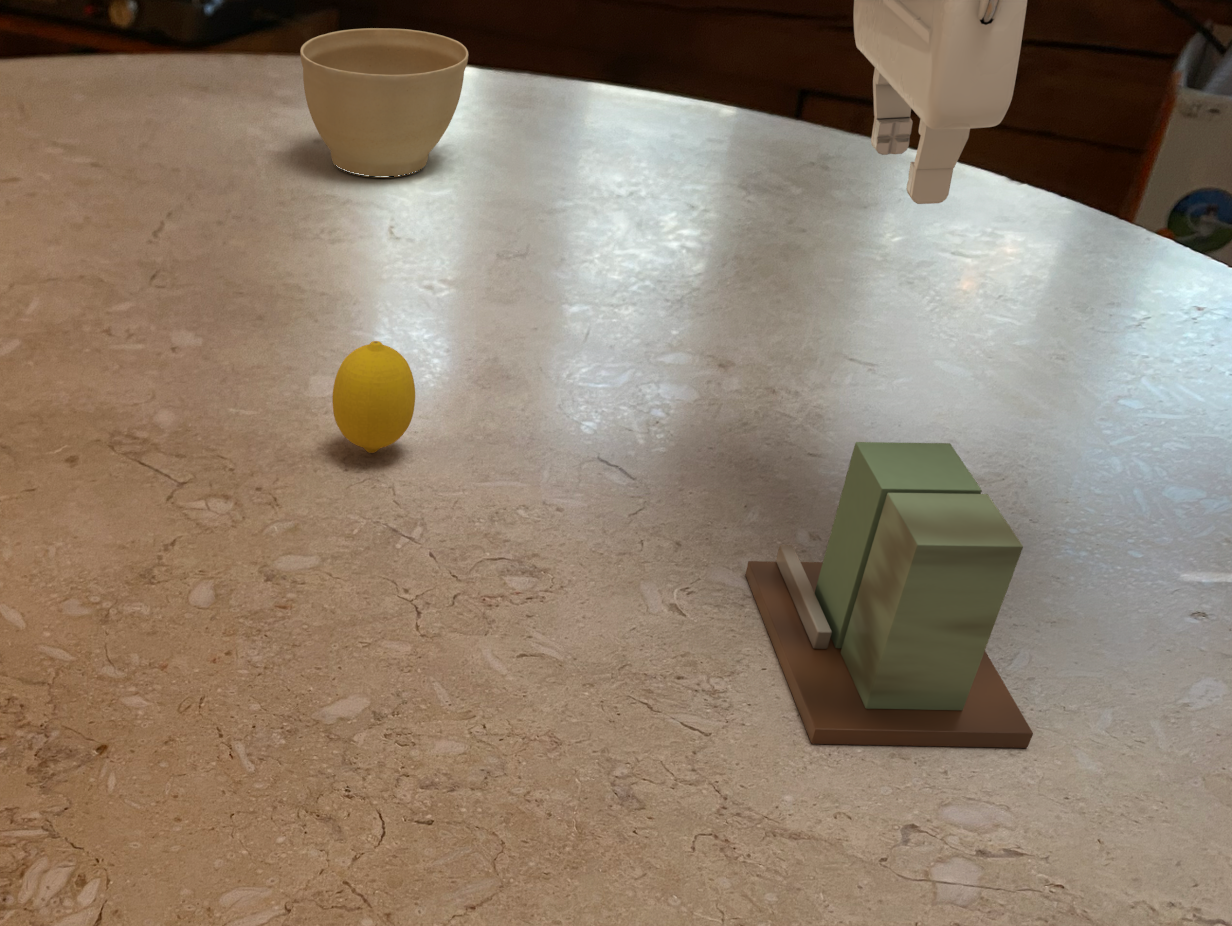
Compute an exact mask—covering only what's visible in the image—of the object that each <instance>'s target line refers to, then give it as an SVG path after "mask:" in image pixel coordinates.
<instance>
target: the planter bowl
mask: <svg viewBox="0 0 1232 926" xmlns="http://www.w3.org/2000/svg"><path fill="white" fill-rule="evenodd" d="M299 52H300V53H299V54H300V62H301V66H302V79H303V80H302V81H303V89H304V96H305V101H306V104H307V108H308V111H309V114H310V116H311V119H312V122H313V124H314V126H315V128H316V131H317V132H318V134H319V136H320V138H321V139H322V141H323V142H324V143H325V145H326V146H327V148H328V149H329V151H330V157H331V162H332V161H333V162H332V164H333V163H334V164H335V165H337V166H338V167H340V168H342V169H345V170H347V171H350V172H354V173H359V174H364V175H369V176H394V177H393V178H399V177H400V176H398V175H402V176H401V177H404V176H409V175H414V174H415V173H416V174H417V173H418V172H420V171H421V170H423V169H424V168H425V167H426V165H427V164H428V160H429V155H430V153H431V152H432V150H433V149H434V148H435V147H436V146H437V145H438V144H439V142H440V140H441V139H442V138H443V136H444V134H445V133H446V131H447V129H449V126H450V124H451V122H452V119H453V118H454V116H455V113H456V110H457V107H458V104H459V101H460V98H461V95H462V89H463V84H464V76H465V71H466V68H467V65H468V61H469V50H468V49H467V47H466V46H465V45H464V44H463V43H462V42H460V41H458V40H456V39H454V38H451V37H448V36H445V35H441V34H437V33H433V32H428V31H424V30H423V31H422V30H415V29H407V28H406V29H405V28H392V27H391V28H389V27H388V28H379V27H376V28H375V27H374V28H373V27H370V28H369V27H368V28H367V27H366V28H353V29H351V28H350V29H343V30H337V31H332V32H331V31H330V32H328V33H325V34H324V33H323V34H321V35H320V34H319V35H318V36H315V37H312V38H310V39H308V40H307V41H305V42H304V43H303V44H302V45H301V47H300V51H299ZM334 164H333V165H334ZM335 165H334V166H335ZM424 166H425V167H424ZM423 167H424V168H423ZM422 168H423V169H422ZM420 169H421V170H420ZM418 170H419V171H418ZM415 171H417V172H415ZM343 172H344V173H346V172H345V171H343ZM412 172H414V173H412ZM409 173H411V174H409ZM404 174H407V175H404ZM353 175H355V174H353ZM355 176H356V175H355ZM358 176H359V177H361V176H360V175H358ZM369 176H364V177H366V178H370V177H369ZM379 178H381V179H382V178H385V179H386V178H388V177H378V179H379Z"/></svg>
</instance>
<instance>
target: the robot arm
mask: <svg viewBox="0 0 1232 926" xmlns="http://www.w3.org/2000/svg"><path fill="white" fill-rule="evenodd" d="M1027 6H1028V0H853V19H852V20H853V34H854V35H853V36H854V40H855V41H854V42H855V46H856V48H857V50H858V51H860V53H861V54H862V55H863V56H864V57H865V58H866V59H867V60H868V62H869V63H870V64H871V65H872V66H873V67H874V70H873V78H872V94H873V95H872V96H873V116H874V118H873V125H872V131H871V139H870V143H871V146H872V148H874V149H875V151H876V152H877V153H878V154H879V155H881V156H887V155H902V154H904V153H905V152H906V151H907V150H908V148H909V146H910V141H911V140H910V137H911V134H912V129H913V124H914V121H913V120H912V118H911V114H912V113H911V112H912V111H913V112H914V113H915V115H917V117H918V118H919V125H918V134H919V135H920V137H919V141H918V145H917V150H916V154H915V159H914V161H910V164H909V170H908V180H907V183H906V188H905V189H906V192H907V194H908V196H909V197H910V198H911V200H912V202H914V203H915V204H917V205H930V204H933V205H935V204H941V203H943V202H944V201H946V200H947V199H948V196H949V195H950V189H951V183H952V178H953V174H954V168H956V165H957V164H958V161H959V159H960V156H961V155H962V152H963V150H964V148H965V146H966V144H967V142H968V140H969V138H970V131H971V129H983V128H992V127H996V126H998V125H1000V124H1001V123H1002V121H1003V120H1004V118H1005V116H1006V114H1007V112H1008V110H1009V108H1010V106H1011V102H1012V100H1013V96H1014V91H1015V85H1016V79H1017V74H1018V68H1019V61H1020V55H1021V49H1022V40H1023V34H1024V28H1025V21H1026V15H1027Z"/></svg>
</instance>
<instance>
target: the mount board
mask: <svg viewBox="0 0 1232 926" xmlns="http://www.w3.org/2000/svg"><path fill="white" fill-rule="evenodd" d="M1023 549H1024V545H1023V544H1022V542H1021V541H1020V539H1019V537H1017V535H1016V534H1015V532H1014V530H1013V529H1012V527H1011V526H1010V525H1009V523H1008V522H1007V521H1006V519H1005V517H1004V516H1003V515H1002V513H1001V512H1000V510H999V509H998V507H997V506H996V504H995V503H994V501H993V500H992V498H991V496H989V494H988V493H981V494H948V493H887V496H886V500H885V503H884V507H883V510H882V513H881V517H880V520H879V523H878V527H877V530H876V534H875V537H874V540H873V544H872V547H871V551H870V554H869V557H868V561H867V564H866V568H865V571H864V574H863V578H862V581H861V585H860V588H859V591H858V595H857V598H856V602H855V605H854V608H853V612H852V615H851V619H850V622H849V625H848V629H847V632H846V636H845V639H844V642H843V646H842V648H835V646H834V643H833V641H832V639H831V634H832V631H831V629H830V626H829V624H828V622H827V620H826V617H825V615H824V613H823V611H822V609H821V606H820V604H819V602H818V600H817V598H816V595H815V589H816V586H817V582H818V578H819V575H820V571H821V567H822V564H823V561H822V562H821V561H801V560H800V558H799V556H798V554H797V553H798V552H797V551H796V549H795V547H794V545H793V544H779V547H778V549H777V550H778V551H777V554H776V559H775V561H774V560H773V561H771V560H770V561H769V560H768V561H767V560H766V561H765V560H749V561H748V562H747V565H746V566H747V567H746V569H745V573H744V575H745V577H746V580H747V583H748V586H749V588H750V591H751V593H752V597H753V598H754V601H755V603H756V606H757V608H758V611H759V613H760V615H761V618H762V621H763V624H764V626H765V629H766V632H767V634H768V636H769V639H770V642H771V644H772V647H773V649H774V651H775V654H776V657H777V660H778V661H779V665H780V667H781V669H782V672H783V674H784V677H785V679H786V682H787V685H788V688H789V690H790V693H791V695H792V698H793V700H794V703H795V705H796V708H797V709H798V710H797V711H798V713H799V715H800V718H801V721H802V723H803V726H804V728H805V731H806V733H807V736H808V738H809V741H810V743H811V744H812V745H814V744H815V745H852V746H853V745H855V746H856V745H858V746H859V745H861V746H904V747H905V746H910V747H956V748H957V747H959V748H962V747H964V748H1007V749H1008V748H1012V749H1028V748H1029V745H1030V743H1031V740H1032V738H1033V736H1034V731H1033V730H1032V728H1031V727H1030V725H1029V724H1028V722H1027V720H1026V718H1025V717H1024V715H1023V713H1022V711H1021V710H1020V708H1019V706H1018V705H1017V703H1016V701H1015V700H1014V698H1013V696H1012V694H1011V692H1010V691H1009V689H1008V687H1007V686H1006V684H1005V682H1004V680H1003V679H1002V677H1001V676H1000V673H999V672H998V670H997V668H996V667H995V665H994V664H993V662H992V660H991V658H990V657H989V654H988V653H987V652H986V648H987V646H988V643H989V640H990V639H991V635H992V632H993V630H994V626H995V624H996V622H997V619H998V617H999V613H1000V610H1001V608H1002V605H1003V603H1004V600H1005V598H1006V594H1007V591H1008V589H1009V587H1010V583H1011V580H1012V578H1013V576H1014V573H1015V570H1016V568H1017V565H1018V562H1019V561H1020V560H1019V559H1020V556H1021V554H1022V551H1023Z"/></svg>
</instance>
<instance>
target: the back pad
mask: <svg viewBox="0 0 1232 926" xmlns="http://www.w3.org/2000/svg"><path fill="white" fill-rule="evenodd" d="M887 493H948V494H982V488H981V486H980V485H979V484H978V483H977V481H976V479H975V477H974V476H973V474H971V472H970V470H969V469H968V467H967V466H966V464H965V463H964V461H963V460H962V458H961V457H960V456H959V454H958V453H957V451H956V449H954V447H953V445H952V444H951V443H949V442H891V441H890V442H888V441H887V442H884V441H880V442H879V441H878V442H877V441H856V442H855V443H854V446H853V450H852V453H851V457H850V460H849V465H848V468H847V472H846V476H845V479H844V483H843V487H842V491H841V495H840V497H839V502H838V505H837V508H836V513H835V515H834V519H833V523H832V527H831V530H830V534H829V539H828V542H827V546H826V549H825V554H824V556H823V561H822V562H823V564H822V567H821V571H820V575H819V578H818V582H817V586H816V589H815V595H816V598H817V600H818V602H819V604H820V606H821V609H822V611H823V613H824V615H825V617H826V620H827V622H828V624H829V626H830V629H831V631H832V634H831V639H832V641H833V643H834V646H835V648H842V646H843V642H844V639H845V636H846V632H847V629H848V625H849V622H850V619H851V615H852V612H853V608H854V605H855V602H856V598H857V595H858V591H859V588H860V585H861V581H862V578H863V574H864V571H865V568H866V564H867V561H868V557H869V554H870V551H871V547H872V544H873V540H874V537H875V534H876V530H877V527H878V523H879V520H880V517H881V513H882V510H883V507H884V503H885V500H886V496H887Z"/></svg>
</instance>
